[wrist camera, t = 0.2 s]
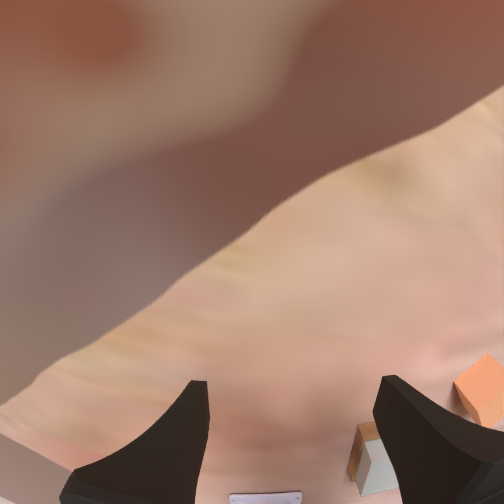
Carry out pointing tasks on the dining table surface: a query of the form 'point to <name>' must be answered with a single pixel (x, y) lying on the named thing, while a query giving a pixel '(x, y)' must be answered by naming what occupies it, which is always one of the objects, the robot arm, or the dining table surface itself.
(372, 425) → the bottom slab
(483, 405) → the peach foam cube
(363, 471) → the top slab
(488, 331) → the dining table surface
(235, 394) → the dining table surface
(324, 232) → the dining table surface
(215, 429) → the dining table surface
